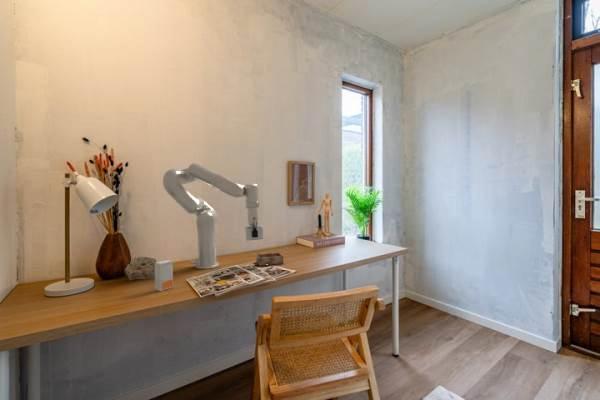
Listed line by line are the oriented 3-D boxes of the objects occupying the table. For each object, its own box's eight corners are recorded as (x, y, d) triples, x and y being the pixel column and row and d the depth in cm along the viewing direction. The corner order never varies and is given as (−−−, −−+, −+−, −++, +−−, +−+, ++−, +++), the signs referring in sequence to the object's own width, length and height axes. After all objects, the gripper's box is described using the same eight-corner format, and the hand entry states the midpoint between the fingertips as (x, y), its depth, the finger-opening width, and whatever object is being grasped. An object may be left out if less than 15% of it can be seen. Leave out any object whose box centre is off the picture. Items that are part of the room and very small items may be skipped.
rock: (163, 279, 137) (158, 261, 134) (131, 292, 129) (124, 273, 126) (156, 265, 153) (151, 249, 151) (127, 276, 145) (121, 259, 143)
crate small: (247, 240, 153) (246, 228, 153) (246, 238, 160) (245, 227, 159) (263, 239, 156) (262, 226, 156) (261, 237, 162) (260, 225, 162)
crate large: (259, 266, 154) (259, 258, 154) (256, 261, 164) (256, 254, 164) (283, 263, 158) (283, 256, 158) (279, 259, 168) (279, 252, 168)
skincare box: (160, 291, 116) (159, 263, 116) (155, 290, 119) (154, 262, 118) (173, 287, 121) (173, 260, 121) (168, 285, 124) (167, 259, 123)
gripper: (244, 205, 164) (246, 234, 165) (247, 206, 148) (249, 239, 148) (256, 204, 166) (258, 233, 167) (261, 205, 150) (263, 238, 151)
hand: (254, 236), depth 158 cm, fingers closed on crate small, 6 cm apart
